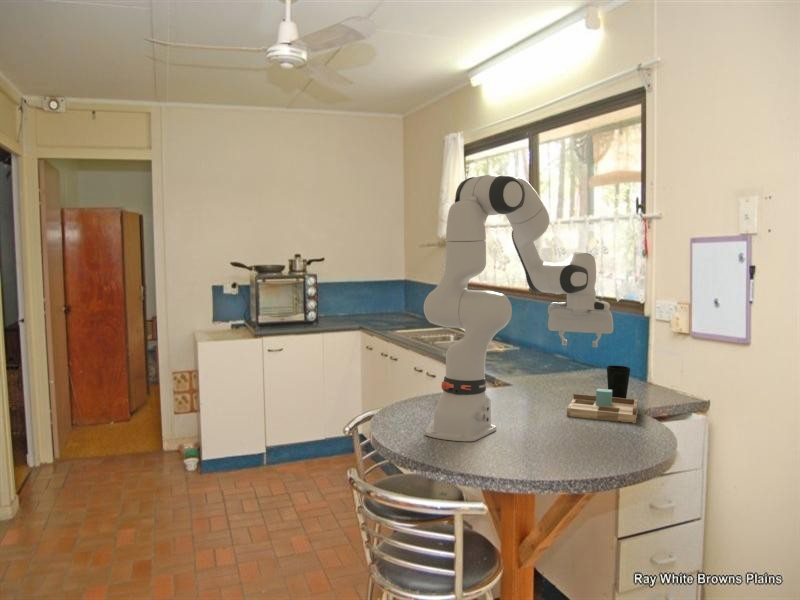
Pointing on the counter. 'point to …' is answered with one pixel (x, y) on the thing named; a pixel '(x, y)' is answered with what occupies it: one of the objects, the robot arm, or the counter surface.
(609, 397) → the block
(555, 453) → the counter surface
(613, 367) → the cup
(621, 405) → the wooden tray
